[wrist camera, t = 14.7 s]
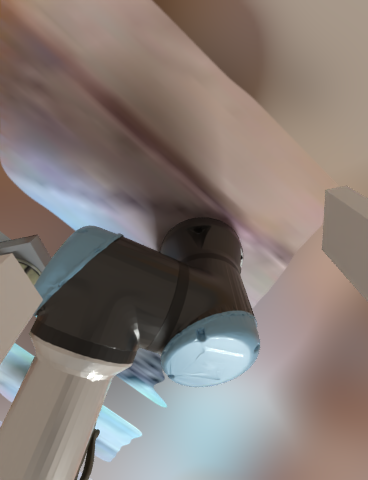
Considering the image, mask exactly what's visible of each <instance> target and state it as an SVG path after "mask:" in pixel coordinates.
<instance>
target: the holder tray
mask: <svg viewBox="0 0 368 480" xmlns="http://www.w3.org/2000/svg"><path fill="white" fill-rule="evenodd" d="M10 253H13V255H14V256H15V258H17V259H21V260H25V261H27V262H29V263H31V264H32V265H34V266H35V267H36V268H37V269H38V270H39V271H40V272H41V273H42V272H43V270H44V269H45V267H46V266H47V264H48V263H49V261H50V260H51V257H50V255H49V253H48V252H47V250H46V248H45V246H44V245H43V243H42V241H41V239H40V238H39V236H38V235H33V236H29V237H24V238H19V239H14V240H9V241H4V242H0V256H1V255H5V254H10ZM33 316H34V315H33Z"/></svg>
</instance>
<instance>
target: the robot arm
mask: <svg viewBox="0 0 368 480" xmlns="http://www.w3.org/2000/svg"><path fill="white" fill-rule="evenodd" d="M322 250H323V251H324V252H325V254H326V255H327V256H328V257H329V258H330V259H331V260H332V262H333V263H334V264H335V265H336V266H337V267H338V268H339V270H340V271H341V272H342V273H343V274H344V275H345V276H346V278H347V279H348V280H349V281H350V282H351V283H352V284H353V285H354V286H355V288H356V289H357V290H358V291H359V292H360V294H361V295H362V296H363V297H364V298H365V299H366V300H367V301H368V198H367V197H365V196H363V195H362V194H360V193H358V192H356V191H355V190H353V189H351V188H350V187H348V186H342V187H337V188H332V189H327V190H325V207H324V224H323V241H322ZM242 263H243V249H242V246H241V243H240V241H239V238H238V236H237V235H236V233H235V232H234V231H233V229H231V228H230V227H229V226H228V225H226V224H225V223H223V222H221V221H218V220H215V219H211V218H194V219H190V220H186V221H184V222H182V223H180V224H178V225H177V226H175V227H174V228H173V229H172V230H170V232H169V233H168V234H167V235H166V237H165V239H164V241H163V243H162V247H161V253H160V252H158V251H155V250H153V249H151V248H148V247H146V246H144V245H141V244H139V243H137V242H134V241H132V240H130V239H127V238H125V237H123V235H122V234H115V233H113V232H110V231H107V230H105V229H102V228H99V227H96V226H85V227H82V228H80V229H78V230H77V231H76V232H74V233H73V234H72V235H71V236H70V237H69V238H68V239H67V240H66V241H65V242H64V243H63V244H62V246H61V247H60V248H59V249H58V251H57V252H56V253H55V254H54V256H53V257H52V258H51V260H50V261H49V263H48V264H47V266H46V267H45V269H44V270H43V272H42V273H41V275H40V276H39V278H38V280H37V281H36V283H35V285H33V284H32V282H31V281H30V279H29V278H28V276H27V275H26V273H25V272H24V270H23V268H22V267H21V265H20V264H19V262H18V261H17V259H16V258H15V256H14V255H13V253H10V254H5V255H1V256H0V364H1V363H2V361H3V359H4V358H5V356H6V355H7V353H8V352H9V350H10V349H11V347H12V346H13V344H14V343H15V341H16V340H17V338H18V337H19V335H20V334H21V332H22V331H23V329H24V328H25V326H26V325H27V323H28V322H29V320H30V318H31V317H32V316H33V315H34V316H36V315H37V319H36V321H35V323H34V325H33V327H32V329H31V331H30V333H29V335H30V338H31V340H32V342H33V345H34V347H35V350H36V355H35V357H34V359H33V361H32V363H31V365H30V367H29V369H28V372H27V374H26V376H25V378H24V380H23V382H22V384H21V386H20V388H19V390H18V392H17V394H16V396H15V399H14V401H13V403H12V405H11V407H10V409H9V411H8V413H7V415H6V417H5V419H4V421H3V423H2V426H1V428H0V480H74V479H75V476H76V474H77V471H78V468H79V466H80V463H81V460H82V458H83V455H84V452H85V450H86V447H87V445H88V442H89V439H90V437H91V434H92V431H93V429H94V426H95V423H96V421H97V418H98V416H99V413H100V410H101V408H102V405H103V402H104V400H105V397H106V394H107V392H108V389H109V386H110V384H111V381H112V379H113V377H114V376H115V375H116V374H118V373H120V372H121V371H123V370H125V369H127V368H128V367H130V366H131V365H132V363H133V361H134V358H135V355H136V353H137V350H138V349H139V348H142V349H146V350H149V351H152V352H155V353H158V354H161V364H162V366H163V370H164V372H165V373H166V374H167V375H168V377H169V378H170V379H171V380H172V381H174V382H176V383H178V384H181V385H185V386H190V387H208V386H214V385H218V384H221V383H224V382H227V381H230V380H232V379H235V378H237V377H238V376H240V375H241V374H243V373H244V372H245V371H247V370H248V369H249V368H250V367H251V366H252V365H253V363H254V362H255V360H256V359H257V356H258V354H259V350H260V339H259V335H258V331H257V321H256V319H255V317H254V314H253V311H252V308H251V305H250V302H249V299H248V296H247V293H246V291H245V288H244V285H243V282H242V279H241V276H240V273H241V267H242Z"/></svg>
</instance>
